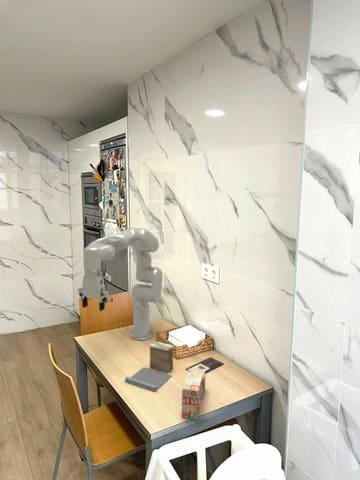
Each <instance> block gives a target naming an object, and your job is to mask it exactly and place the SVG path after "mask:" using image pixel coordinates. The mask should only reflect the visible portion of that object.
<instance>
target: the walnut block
mask: <svg viewBox="0 0 360 480" xmlns="http://www.w3.org/2000/svg"><path fill="white" fill-rule="evenodd" d="M173 368H174V345H173V344H172V345H171V344H169V343H164V342H160V341H156V340H155V341H154V342H153V343H151V344H149V369H152V370H155V371H159V372H162V373H165V374H169V373H170V372H172V370H173Z"/></svg>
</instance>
